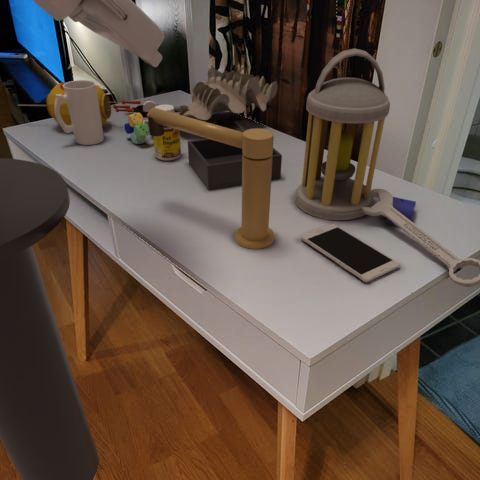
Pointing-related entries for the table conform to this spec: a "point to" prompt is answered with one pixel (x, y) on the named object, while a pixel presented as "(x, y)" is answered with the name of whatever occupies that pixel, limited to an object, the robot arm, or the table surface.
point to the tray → (222, 163)
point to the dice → (137, 128)
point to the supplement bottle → (167, 140)
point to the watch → (145, 108)
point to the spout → (214, 133)
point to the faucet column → (255, 204)
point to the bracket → (402, 208)
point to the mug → (81, 111)
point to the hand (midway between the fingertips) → (155, 60)
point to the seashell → (228, 94)
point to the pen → (176, 108)
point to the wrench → (420, 236)
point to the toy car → (235, 123)
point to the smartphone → (350, 252)
